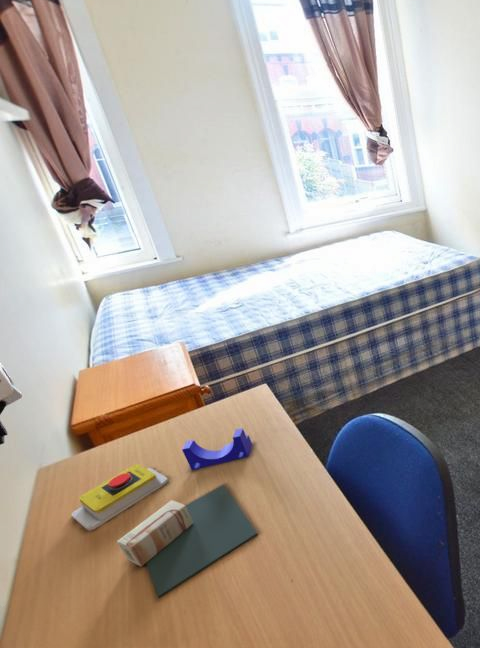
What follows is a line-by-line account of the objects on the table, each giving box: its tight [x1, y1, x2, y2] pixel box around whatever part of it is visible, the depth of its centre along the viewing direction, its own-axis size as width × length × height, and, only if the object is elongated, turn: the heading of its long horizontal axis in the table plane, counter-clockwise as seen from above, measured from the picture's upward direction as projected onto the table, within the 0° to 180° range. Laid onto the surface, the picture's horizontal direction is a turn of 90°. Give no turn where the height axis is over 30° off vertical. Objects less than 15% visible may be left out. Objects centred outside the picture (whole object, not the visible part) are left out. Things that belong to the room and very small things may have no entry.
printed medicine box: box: [116, 499, 194, 567], centre depth 87 cm, size 5×4×10 cm
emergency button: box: [71, 463, 169, 532], centre depth 100 cm, size 9×4×15 cm
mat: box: [145, 484, 258, 598], centre depth 89 cm, size 16×20×1 cm
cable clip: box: [181, 428, 253, 471], centre depth 109 cm, size 12×4×6 cm, turn 106°
